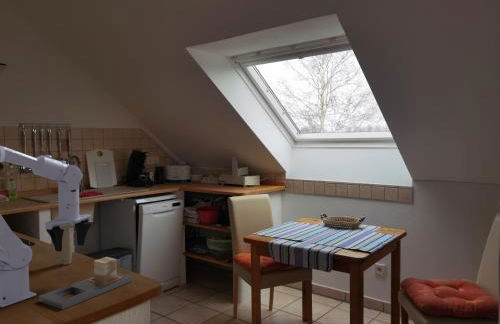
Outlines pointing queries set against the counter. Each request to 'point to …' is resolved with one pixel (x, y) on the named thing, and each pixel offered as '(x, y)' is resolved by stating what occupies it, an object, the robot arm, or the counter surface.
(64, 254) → the handle
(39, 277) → the counter surface
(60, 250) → the robot arm
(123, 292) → the counter surface
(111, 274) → the peg
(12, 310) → the counter surface
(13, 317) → the counter surface
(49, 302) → the grey board with holes
